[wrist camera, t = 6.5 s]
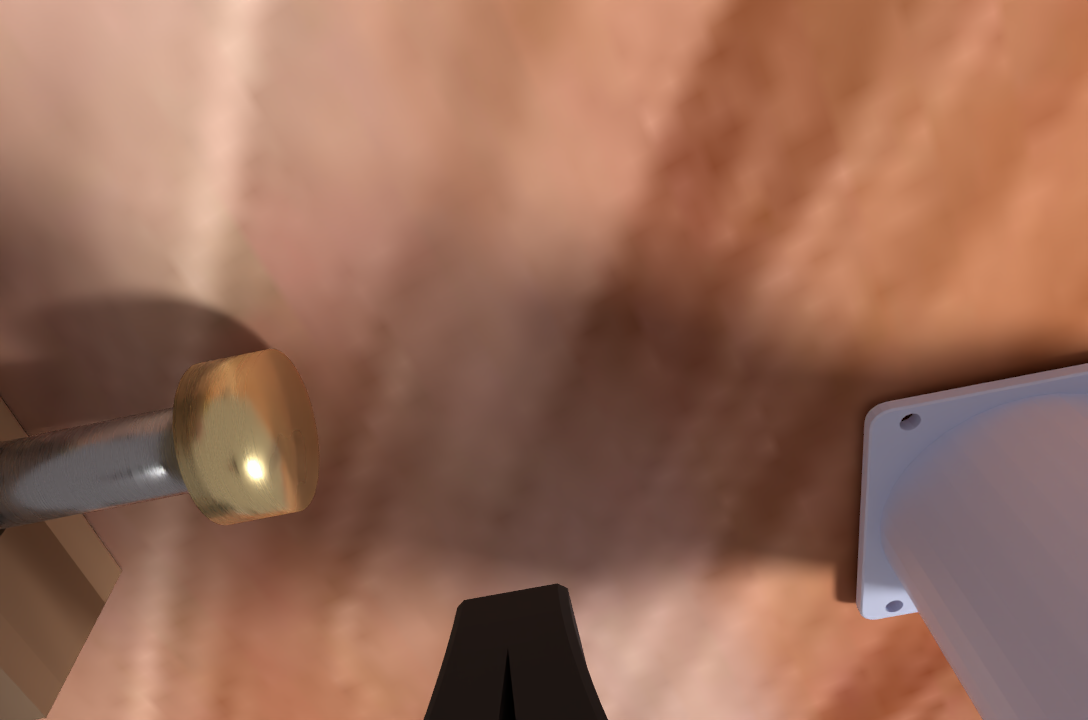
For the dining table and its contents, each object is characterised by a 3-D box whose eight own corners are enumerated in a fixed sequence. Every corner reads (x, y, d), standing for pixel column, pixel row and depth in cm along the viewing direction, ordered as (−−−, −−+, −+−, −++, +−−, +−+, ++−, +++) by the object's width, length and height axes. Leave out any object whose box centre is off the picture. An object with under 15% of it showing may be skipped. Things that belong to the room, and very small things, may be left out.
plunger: (275, 319, 16) (232, 412, 14) (328, 441, 18) (300, 547, 15) (-79, 390, 17) (-195, 496, 14) (7, 504, 19) (-79, 618, 16)
